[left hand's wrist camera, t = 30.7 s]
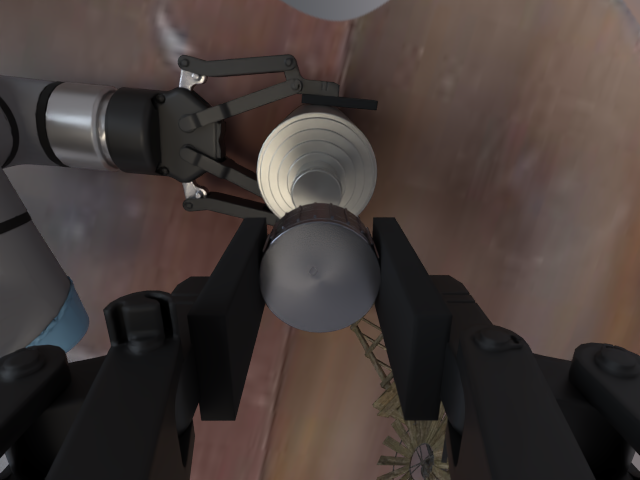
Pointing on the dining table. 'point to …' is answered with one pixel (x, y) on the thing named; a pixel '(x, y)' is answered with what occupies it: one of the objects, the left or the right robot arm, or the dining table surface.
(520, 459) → the left robot arm
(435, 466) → the miniature windmill
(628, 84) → the dining table surface
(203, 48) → the dining table surface
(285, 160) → the bottle
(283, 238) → the cap
